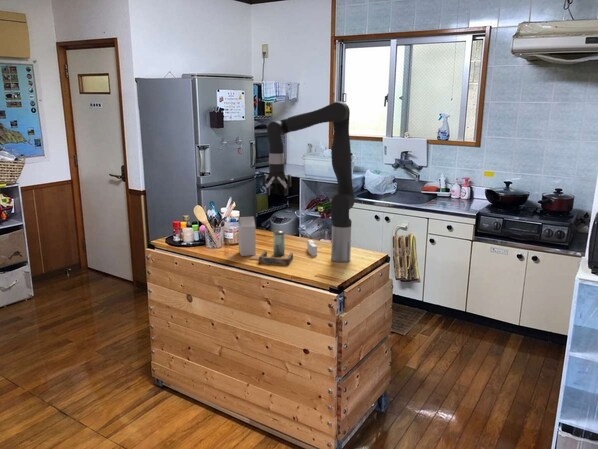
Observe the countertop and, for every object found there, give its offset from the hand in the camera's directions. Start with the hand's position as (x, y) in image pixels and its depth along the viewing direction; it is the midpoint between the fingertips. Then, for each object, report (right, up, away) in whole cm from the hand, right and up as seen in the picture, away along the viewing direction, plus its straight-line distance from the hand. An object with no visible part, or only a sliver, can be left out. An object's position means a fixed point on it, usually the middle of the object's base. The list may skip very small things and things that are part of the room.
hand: (277, 195), depth 245 cm
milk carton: (-15, -30, +4) cm, 33 cm away
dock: (0, -32, -7) cm, 33 cm away
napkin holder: (+18, -29, +8) cm, 36 cm away
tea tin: (+1, -30, +2) cm, 30 cm away
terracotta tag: (-10, -31, -3) cm, 33 cm away
